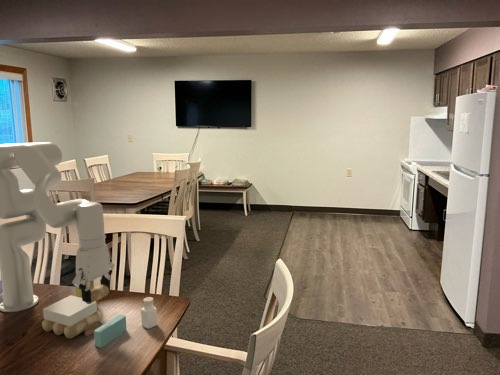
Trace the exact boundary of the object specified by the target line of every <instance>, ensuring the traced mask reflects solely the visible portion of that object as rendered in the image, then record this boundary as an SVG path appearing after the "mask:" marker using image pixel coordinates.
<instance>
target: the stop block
mask: <svg viewBox="0 0 500 375" xmlns="http://www.w3.org/2000/svg"><path fill="white" fill-rule="evenodd" d="M126 331H127V315H124V314H118V315H117V316H115V317H113V318H112V319H110V320H109V321H107V322H106V323H104V324H103V325H101V326H99V328H97V329H96V330H94V332H93V337H94V346H95V347H98V348H103V347H105V346H106V345H108V344H109V343H110V342H112V341H113V340H114V339H116V338H117V337H119V336H121V335H122V334H123V333H125V332H126Z"/></svg>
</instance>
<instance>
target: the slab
mask: <svg viewBox="0 0 500 375" xmlns="http://www.w3.org/2000/svg"><path fill="white" fill-rule="evenodd" d="M97 310H98V304H97V301H95V302H93V303H91V304H87V303H85V302H84V301H82V298H80V297H76V295H71V294H70V295H68V296H67V297H64V298H62V299H60V300H58V301H56V302H54V303H52V304H49V305H48V306H46V307H44V308H42V313H43V319H44V320H50V321H53V322H56V323H60V324H63V325H66V326H70V327H71V326H72V325H74V324H76V323H78V322H79V321H81V320H83V319H85V318H86V317H88V316H90V315H92V314H93V313H95V312H97Z"/></svg>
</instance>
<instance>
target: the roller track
mask: <svg viewBox="0 0 500 375" xmlns="http://www.w3.org/2000/svg"><path fill="white" fill-rule="evenodd" d="M102 319H103V315H102V313H101V312H100V310H98V309H97V312H95V313H93V314H92V315H90V316H88V317H86V318H85V319H83V320H81V321H79V322H78V323H76V324H74V325H72V326H71V327H70V326H66V325H63V324H60V323H56V322H53V321H50V320H46V319H44V320H43V321H42V322H41V326H42V329H43V330H44V331H45V332H47V333H49V332H51V331H53V333H54V334H55V335H57V336H60V335H63V334H64V336H65V337H66V339H69V340H72V339H73V338H74V337H77V336H78V335H80V334H81V333H83V332H84V336H85V337H88V336H90V335H92V334H94V330H96V329H97V328H99V327H100V322H101V321H102Z"/></svg>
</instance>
